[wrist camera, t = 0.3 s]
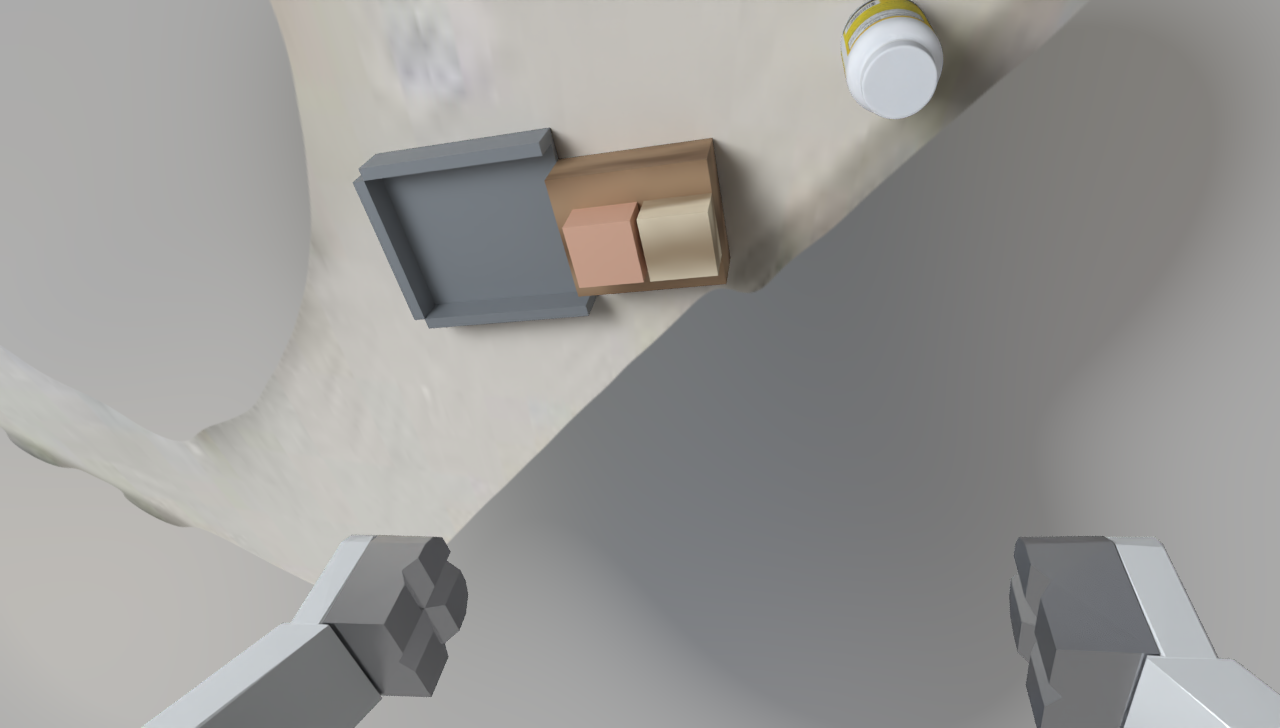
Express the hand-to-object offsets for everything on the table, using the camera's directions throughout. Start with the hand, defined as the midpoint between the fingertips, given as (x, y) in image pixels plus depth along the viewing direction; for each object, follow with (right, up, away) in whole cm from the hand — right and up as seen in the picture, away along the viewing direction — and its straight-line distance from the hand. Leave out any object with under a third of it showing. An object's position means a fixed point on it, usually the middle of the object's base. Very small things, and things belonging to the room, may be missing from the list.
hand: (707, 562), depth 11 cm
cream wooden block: (+2, +13, +44) cm, 46 cm away
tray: (-13, +14, +51) cm, 55 cm away
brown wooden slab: (0, +15, +48) cm, 50 cm away
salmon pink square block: (-3, +12, +45) cm, 47 cm away
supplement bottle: (+15, +24, +38) cm, 47 cm away
